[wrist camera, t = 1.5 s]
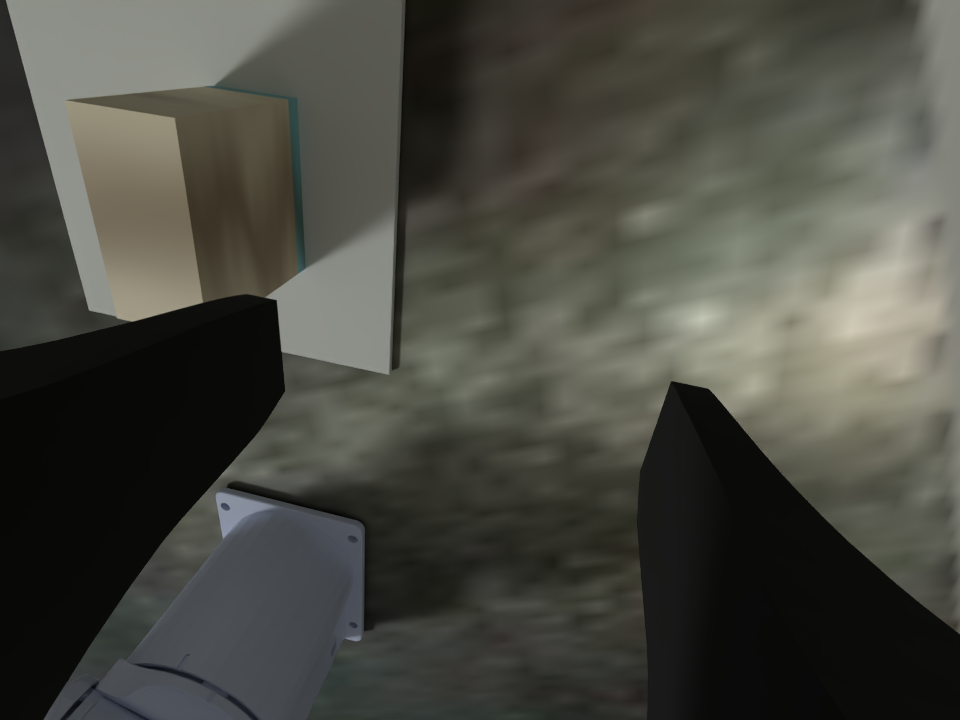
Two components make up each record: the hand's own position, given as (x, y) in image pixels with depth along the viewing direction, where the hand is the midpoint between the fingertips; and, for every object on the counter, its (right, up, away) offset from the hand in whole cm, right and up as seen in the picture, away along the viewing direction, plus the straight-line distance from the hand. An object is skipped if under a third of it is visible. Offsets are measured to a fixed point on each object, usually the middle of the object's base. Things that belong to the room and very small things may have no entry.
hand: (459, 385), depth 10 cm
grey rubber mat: (-9, +7, +11) cm, 16 cm away
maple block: (-7, +7, +10) cm, 14 cm away
